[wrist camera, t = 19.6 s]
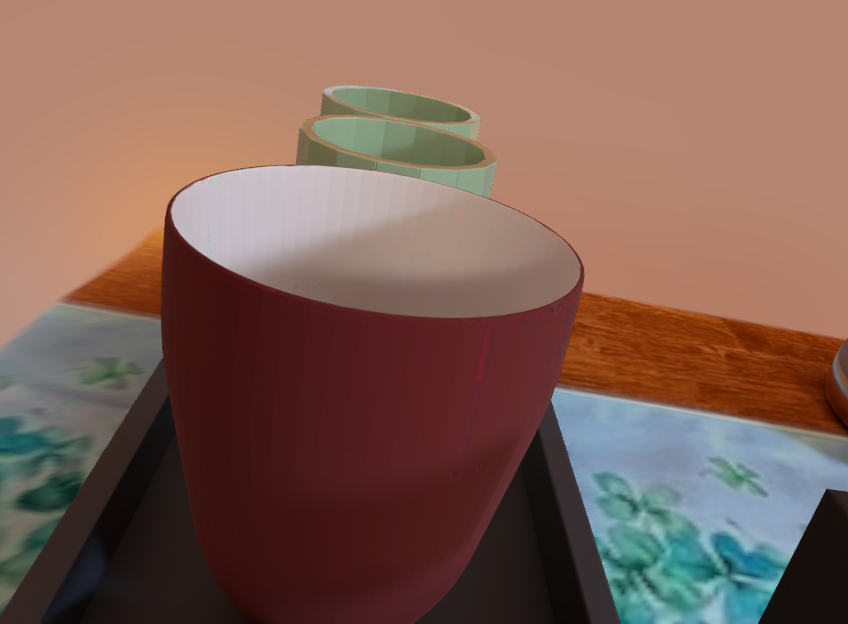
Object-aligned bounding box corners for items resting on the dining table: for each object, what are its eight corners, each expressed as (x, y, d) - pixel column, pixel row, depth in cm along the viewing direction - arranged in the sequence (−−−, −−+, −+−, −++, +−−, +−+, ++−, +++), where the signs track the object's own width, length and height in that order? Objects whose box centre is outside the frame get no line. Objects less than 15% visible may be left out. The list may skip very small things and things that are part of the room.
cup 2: (438, 367, 31) (487, 135, 27) (444, 459, 26) (507, 182, 21) (289, 345, 31) (314, 105, 27) (260, 434, 25) (286, 145, 21)
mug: (269, 422, 25) (298, 127, 21) (504, 483, 24) (584, 188, 20) (80, 689, 15) (61, 243, 11) (457, 804, 15) (591, 371, 10)
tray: (496, 304, 38) (507, 258, 37) (618, 807, 16) (655, 728, 15) (246, 266, 37) (249, 218, 36) (-16, 748, 15) (-27, 657, 13)
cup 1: (434, 302, 37) (473, 103, 33) (438, 365, 32) (486, 133, 27) (309, 283, 37) (332, 78, 33) (289, 343, 31) (314, 104, 27)
